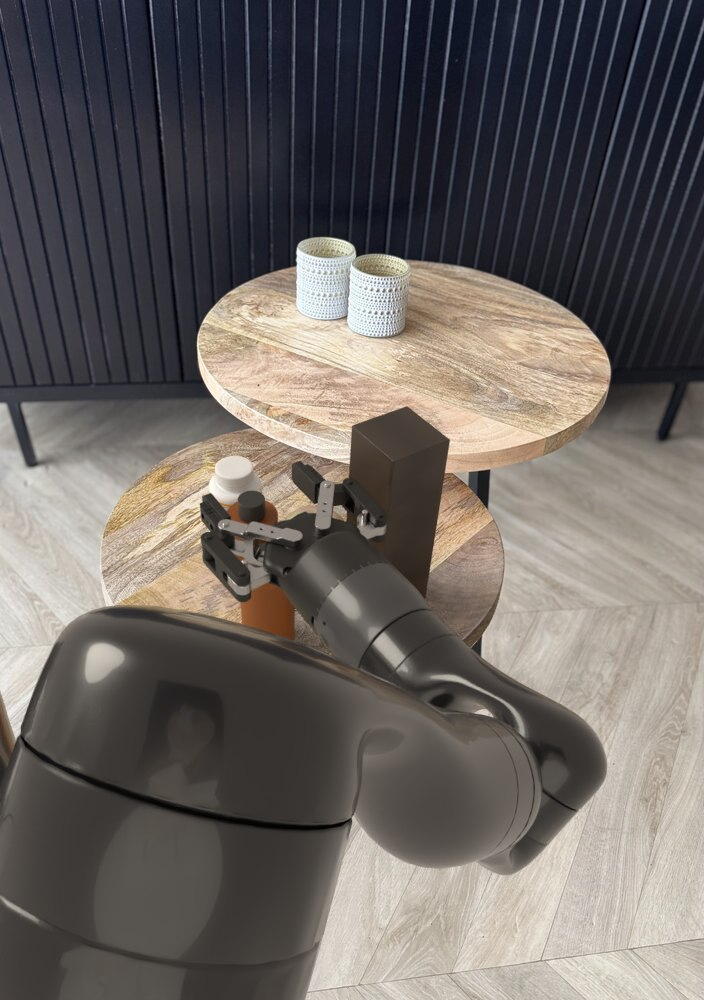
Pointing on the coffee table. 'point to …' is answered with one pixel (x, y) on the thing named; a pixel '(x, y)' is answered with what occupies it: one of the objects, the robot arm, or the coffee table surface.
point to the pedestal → (402, 485)
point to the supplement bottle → (233, 480)
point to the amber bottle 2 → (269, 610)
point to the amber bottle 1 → (253, 511)
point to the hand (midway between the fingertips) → (251, 485)
